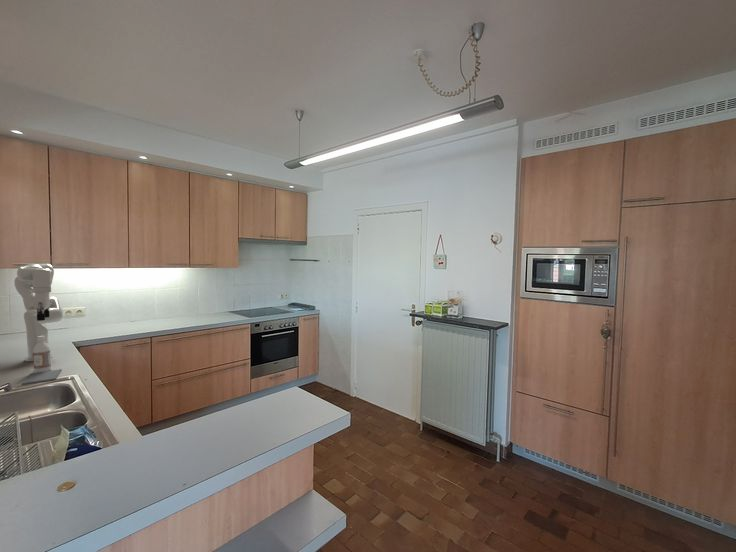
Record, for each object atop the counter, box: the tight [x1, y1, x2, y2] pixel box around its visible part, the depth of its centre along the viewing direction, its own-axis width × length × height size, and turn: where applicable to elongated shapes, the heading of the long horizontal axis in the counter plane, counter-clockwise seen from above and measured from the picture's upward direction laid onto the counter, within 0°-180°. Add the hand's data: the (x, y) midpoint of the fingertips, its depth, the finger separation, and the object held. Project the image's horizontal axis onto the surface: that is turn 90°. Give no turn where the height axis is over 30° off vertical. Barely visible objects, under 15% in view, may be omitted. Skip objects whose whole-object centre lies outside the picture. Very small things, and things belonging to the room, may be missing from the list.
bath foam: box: [32, 336, 52, 373], centre depth 188 cm, size 7×7×20 cm
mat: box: [21, 368, 62, 386], centre depth 179 cm, size 17×13×1 cm
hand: (43, 318), depth 196 cm, fingers open, 9 cm apart
